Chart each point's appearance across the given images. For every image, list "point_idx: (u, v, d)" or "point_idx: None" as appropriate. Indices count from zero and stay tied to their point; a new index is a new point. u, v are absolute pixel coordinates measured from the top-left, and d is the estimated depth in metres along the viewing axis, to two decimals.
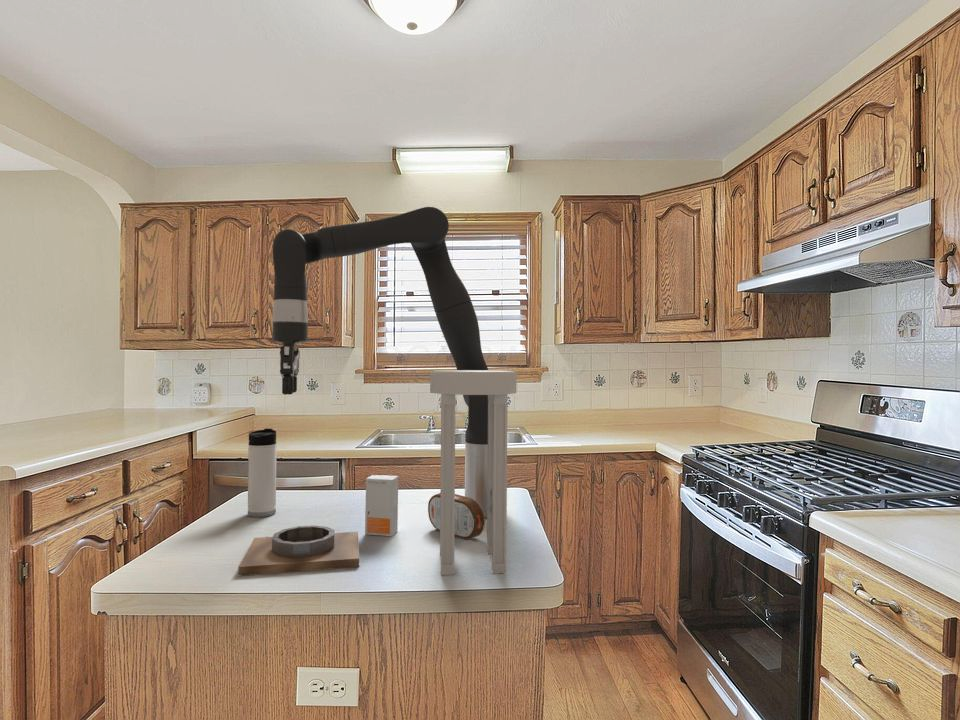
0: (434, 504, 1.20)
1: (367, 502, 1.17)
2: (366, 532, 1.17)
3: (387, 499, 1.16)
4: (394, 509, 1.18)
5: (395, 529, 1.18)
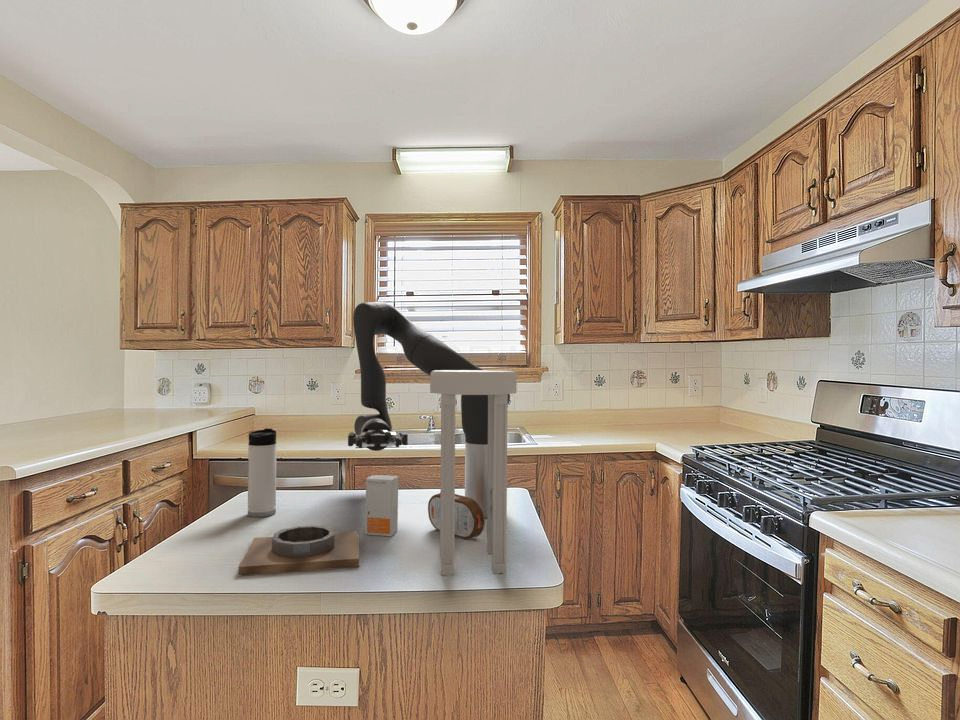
0: (434, 504, 1.20)
1: (367, 502, 1.17)
2: (366, 532, 1.17)
3: (387, 499, 1.16)
4: (394, 509, 1.18)
5: (395, 529, 1.18)
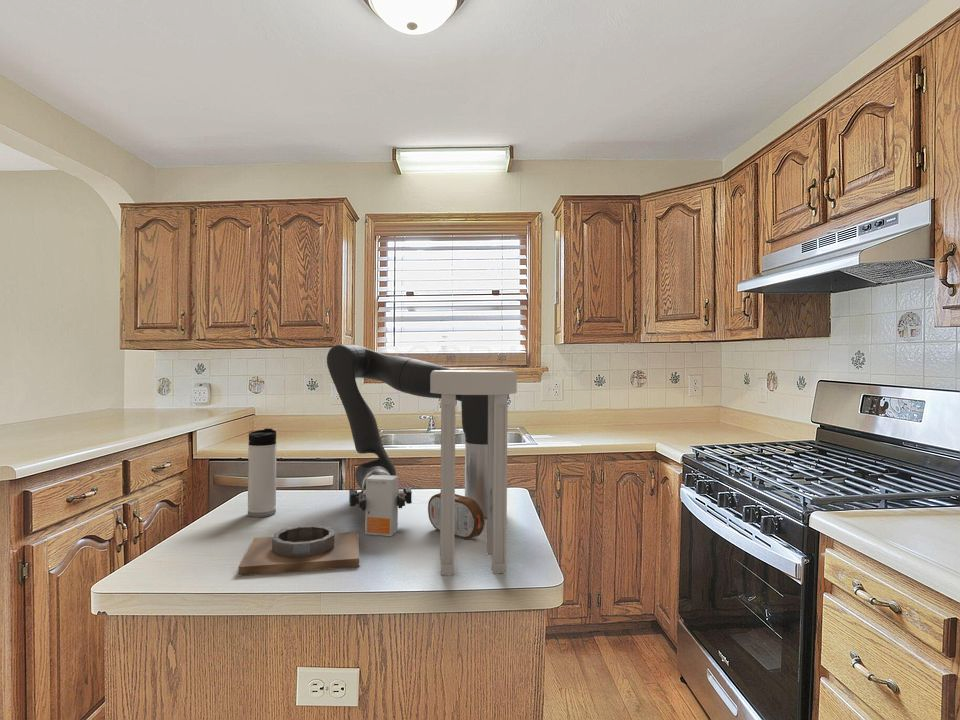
0: (434, 504, 1.20)
1: (367, 502, 1.17)
2: (366, 532, 1.17)
3: (387, 499, 1.16)
4: (394, 508, 1.18)
5: (395, 529, 1.18)
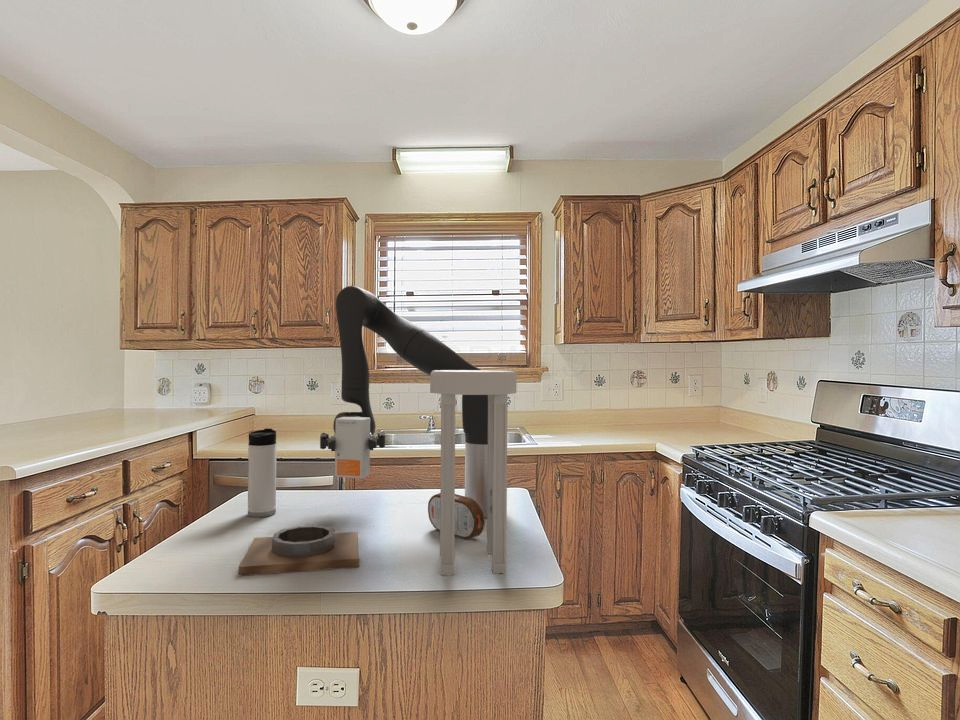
0: (434, 504, 1.20)
1: (337, 443, 1.12)
2: (336, 474, 1.12)
3: (357, 440, 1.11)
4: (365, 451, 1.13)
5: (366, 472, 1.14)
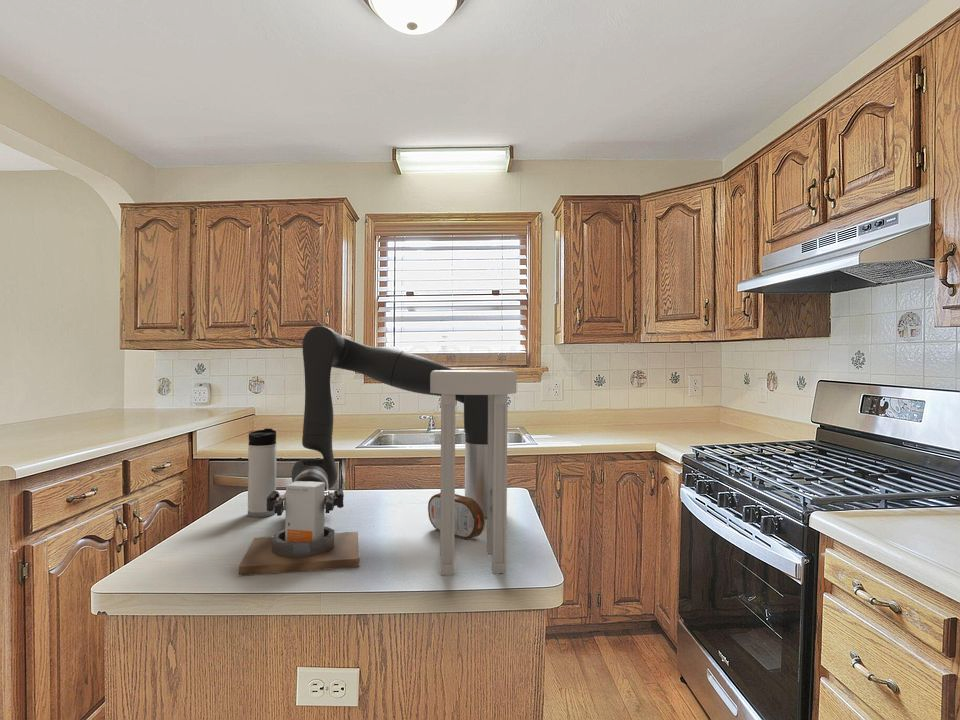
0: (434, 504, 1.20)
1: (287, 512, 1.03)
2: None
3: (310, 509, 1.02)
4: (319, 519, 1.04)
5: None
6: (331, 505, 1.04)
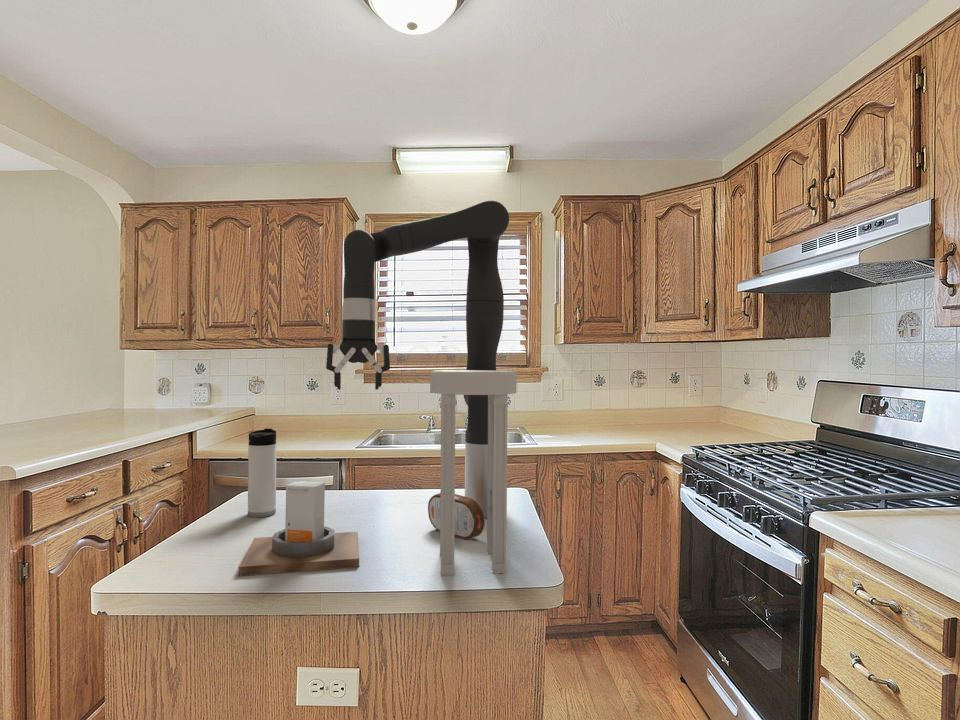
0: (434, 504, 1.20)
1: (287, 512, 1.03)
2: None
3: (310, 509, 1.02)
4: (319, 519, 1.04)
5: None
6: (380, 386, 1.29)
